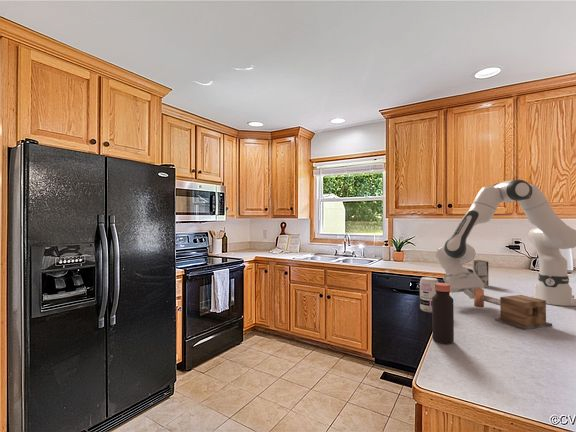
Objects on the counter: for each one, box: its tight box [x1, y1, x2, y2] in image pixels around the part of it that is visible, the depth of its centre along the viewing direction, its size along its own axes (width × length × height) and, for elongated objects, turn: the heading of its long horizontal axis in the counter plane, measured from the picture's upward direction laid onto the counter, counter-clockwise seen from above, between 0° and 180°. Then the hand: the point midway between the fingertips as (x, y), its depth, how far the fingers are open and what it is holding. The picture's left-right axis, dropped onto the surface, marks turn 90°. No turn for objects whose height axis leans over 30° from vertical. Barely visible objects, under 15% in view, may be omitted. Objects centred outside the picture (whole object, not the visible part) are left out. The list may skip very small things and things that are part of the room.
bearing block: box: [494, 294, 553, 331], centre depth 130 cm, size 16×12×10 cm
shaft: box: [473, 288, 500, 308], centre depth 142 cm, size 4×20×8 cm, turn 18°
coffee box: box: [472, 259, 489, 288], centre depth 203 cm, size 9×6×16 cm
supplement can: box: [419, 276, 440, 314], centre depth 148 cm, size 8×8×15 cm
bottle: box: [431, 282, 455, 345], centre depth 111 cm, size 7×7×20 cm
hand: (474, 298), depth 152 cm, fingers closed
